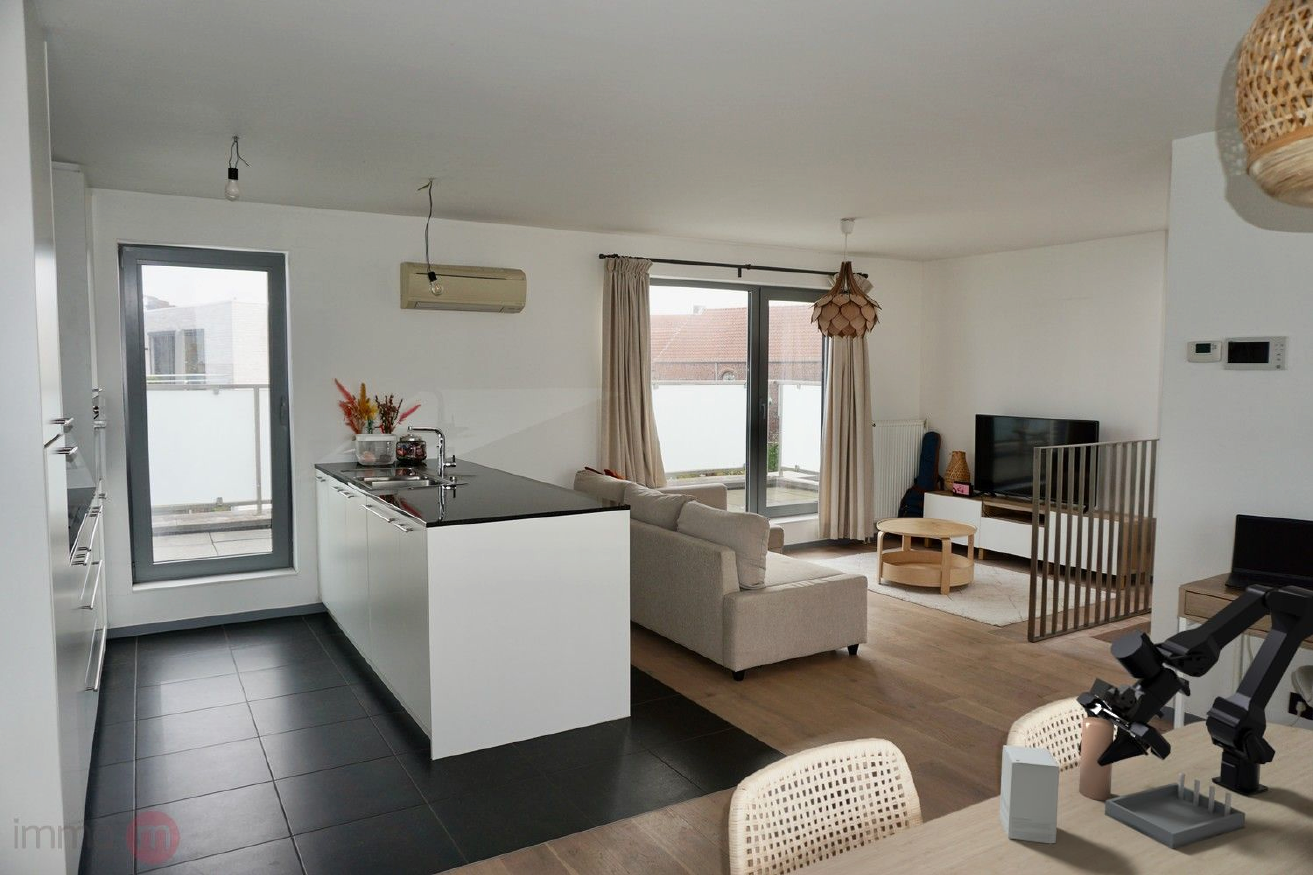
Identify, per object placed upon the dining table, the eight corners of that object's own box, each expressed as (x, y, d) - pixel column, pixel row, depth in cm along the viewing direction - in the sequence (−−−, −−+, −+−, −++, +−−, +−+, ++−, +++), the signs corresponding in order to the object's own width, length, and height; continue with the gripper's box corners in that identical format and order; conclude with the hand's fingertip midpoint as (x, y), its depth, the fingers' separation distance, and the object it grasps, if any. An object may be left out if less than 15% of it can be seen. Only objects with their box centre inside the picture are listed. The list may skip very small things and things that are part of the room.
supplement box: (1056, 845, 137) (1060, 766, 136) (1007, 839, 138) (1010, 761, 137) (1045, 822, 144) (1049, 747, 143) (998, 816, 145) (1001, 743, 145)
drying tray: (1175, 795, 154) (1176, 768, 154) (1244, 827, 144) (1246, 797, 143) (1104, 813, 147) (1106, 785, 147) (1172, 848, 136) (1174, 817, 136)
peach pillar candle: (1092, 785, 158) (1095, 715, 157) (1116, 797, 153) (1120, 725, 153) (1072, 789, 156) (1076, 719, 155) (1097, 802, 151) (1100, 729, 151)
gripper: (1088, 648, 163) (1031, 708, 162) (1159, 682, 145) (1095, 749, 144) (1123, 688, 165) (1067, 747, 164) (1198, 726, 146) (1136, 793, 145)
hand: (1089, 757), depth 154 cm, fingers closed on peach pillar candle, 5 cm apart
